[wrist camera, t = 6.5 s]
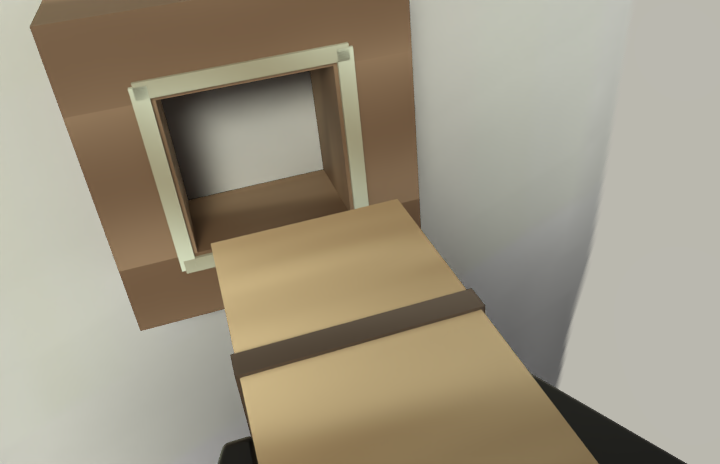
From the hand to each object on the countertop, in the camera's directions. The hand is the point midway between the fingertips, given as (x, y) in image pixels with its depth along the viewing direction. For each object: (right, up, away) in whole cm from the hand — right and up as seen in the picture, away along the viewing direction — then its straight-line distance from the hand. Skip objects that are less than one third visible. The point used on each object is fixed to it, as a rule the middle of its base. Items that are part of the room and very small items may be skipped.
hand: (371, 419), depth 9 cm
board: (-4, +6, +10) cm, 12 cm away
